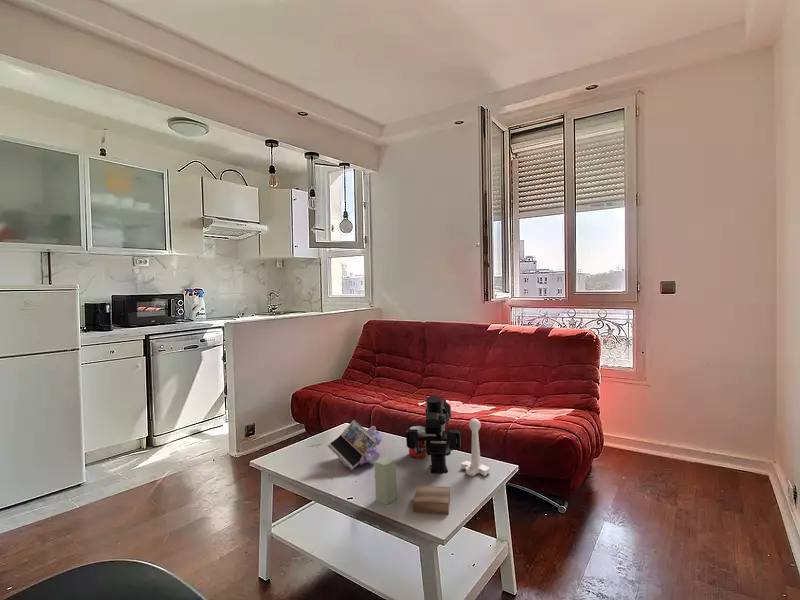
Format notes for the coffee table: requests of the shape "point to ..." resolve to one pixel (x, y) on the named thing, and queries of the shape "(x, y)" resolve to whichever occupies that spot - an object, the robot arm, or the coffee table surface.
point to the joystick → (475, 453)
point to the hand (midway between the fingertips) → (431, 452)
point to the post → (385, 480)
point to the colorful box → (357, 445)
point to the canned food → (421, 445)
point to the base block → (431, 500)
